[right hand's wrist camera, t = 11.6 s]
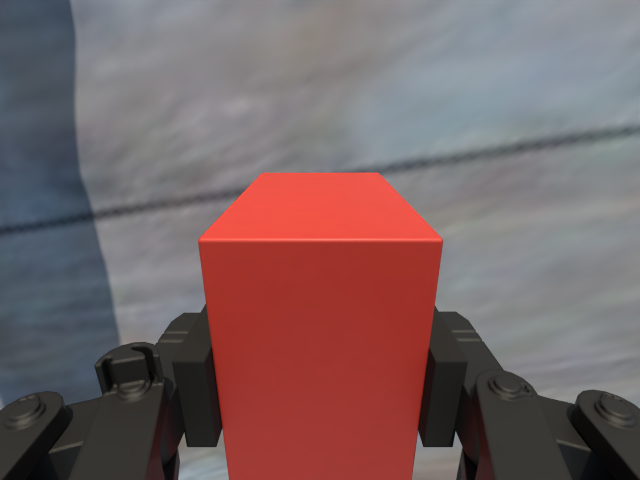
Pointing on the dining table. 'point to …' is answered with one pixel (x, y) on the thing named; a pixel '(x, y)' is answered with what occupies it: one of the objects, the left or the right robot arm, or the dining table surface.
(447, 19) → the dining table surface
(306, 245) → the brick
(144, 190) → the dining table surface
